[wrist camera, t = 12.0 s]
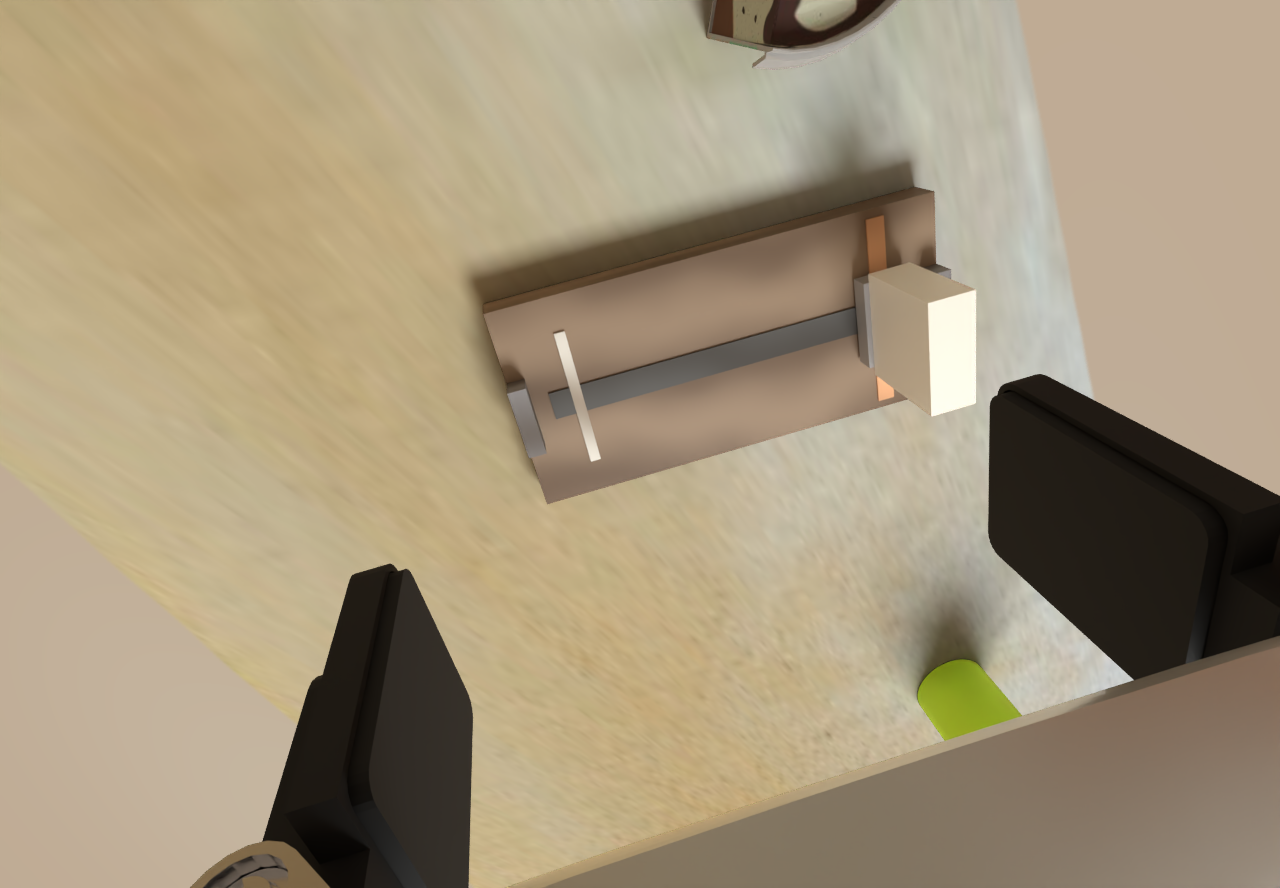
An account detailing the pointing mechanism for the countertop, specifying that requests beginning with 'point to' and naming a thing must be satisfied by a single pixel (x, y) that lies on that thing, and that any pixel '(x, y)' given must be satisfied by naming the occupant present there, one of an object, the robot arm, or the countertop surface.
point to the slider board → (702, 345)
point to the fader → (919, 335)
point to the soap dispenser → (963, 699)
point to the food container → (794, 27)
